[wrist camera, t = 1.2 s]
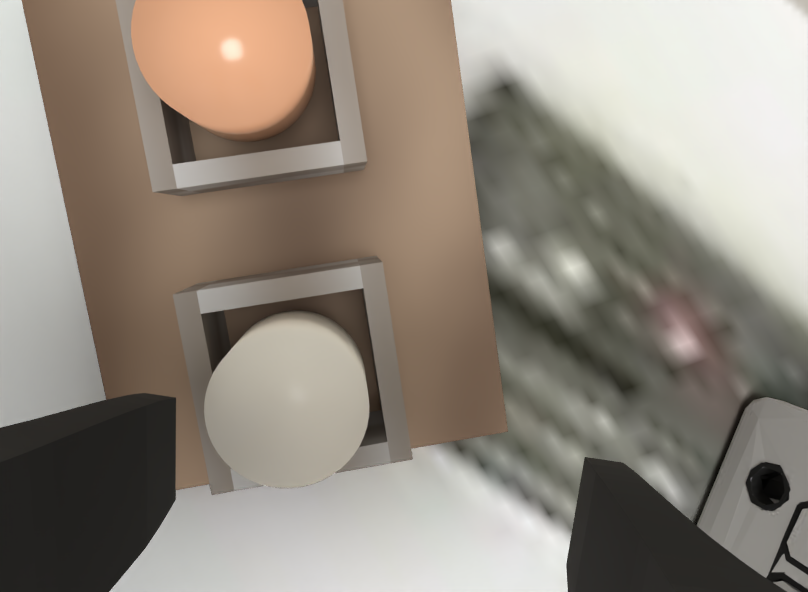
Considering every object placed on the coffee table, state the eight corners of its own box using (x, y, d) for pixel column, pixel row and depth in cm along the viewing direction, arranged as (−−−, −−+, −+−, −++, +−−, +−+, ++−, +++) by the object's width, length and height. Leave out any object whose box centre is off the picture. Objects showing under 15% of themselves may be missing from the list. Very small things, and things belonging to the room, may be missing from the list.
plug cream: (241, 454, 18) (220, 501, 15) (216, 322, 17) (189, 343, 14) (374, 430, 18) (380, 472, 15) (353, 300, 17) (356, 317, 15)
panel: (137, 485, 21) (90, 546, 17) (36, 2, 19) (-43, -54, 15) (500, 421, 22) (534, 466, 18) (437, -47, 20) (461, -111, 16)
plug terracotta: (184, 151, 17) (150, 136, 14) (156, 3, 16) (114, -46, 13) (326, 131, 17) (323, 112, 14) (302, -16, 16) (294, -67, 14)
